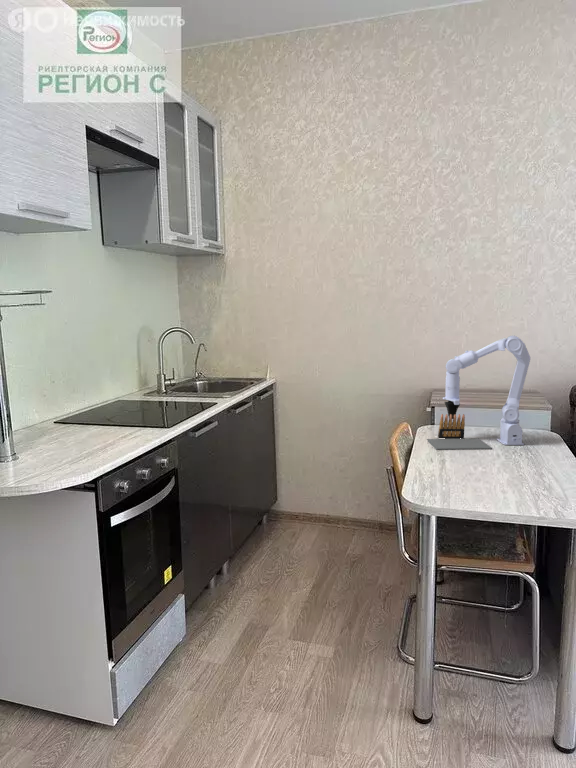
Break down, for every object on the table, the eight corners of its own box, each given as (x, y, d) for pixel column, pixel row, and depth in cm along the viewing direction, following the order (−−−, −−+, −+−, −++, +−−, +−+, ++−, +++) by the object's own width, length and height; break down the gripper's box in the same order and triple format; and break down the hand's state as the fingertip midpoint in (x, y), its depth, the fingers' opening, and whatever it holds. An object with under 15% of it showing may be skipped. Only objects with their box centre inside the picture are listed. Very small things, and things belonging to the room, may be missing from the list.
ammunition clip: (463, 436, 232) (465, 412, 227) (463, 439, 231) (466, 415, 225) (437, 436, 234) (439, 412, 228) (438, 438, 232) (440, 415, 227)
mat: (492, 449, 213) (492, 447, 213) (436, 450, 214) (436, 448, 214) (478, 439, 229) (478, 438, 229) (426, 440, 230) (426, 439, 229)
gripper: (438, 385, 236) (438, 415, 238) (447, 389, 221) (447, 422, 223) (454, 384, 235) (454, 415, 237) (464, 389, 221) (464, 421, 223)
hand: (451, 418), depth 230 cm, fingers closed
